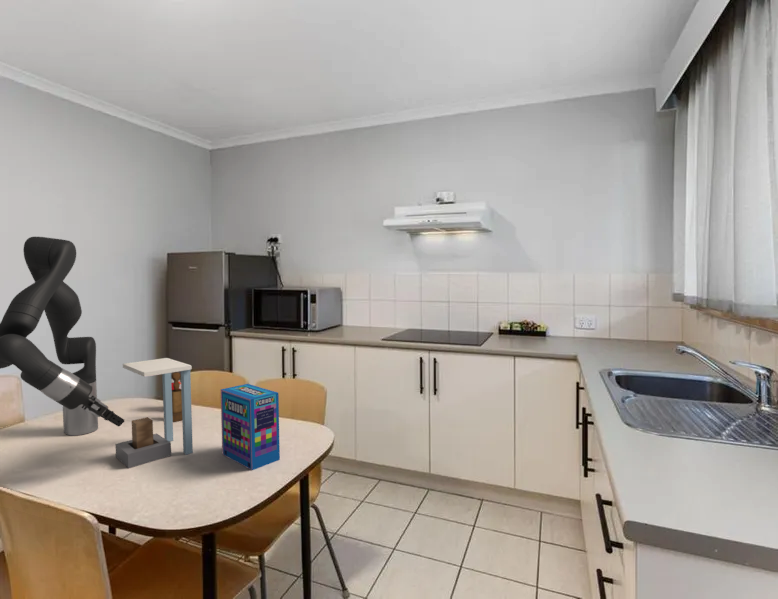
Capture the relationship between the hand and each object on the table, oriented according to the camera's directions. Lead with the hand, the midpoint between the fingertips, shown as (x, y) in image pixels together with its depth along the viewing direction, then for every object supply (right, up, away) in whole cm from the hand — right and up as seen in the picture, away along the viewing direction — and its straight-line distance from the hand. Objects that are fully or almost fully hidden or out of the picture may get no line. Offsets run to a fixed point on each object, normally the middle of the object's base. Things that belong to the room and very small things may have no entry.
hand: (117, 420), depth 123 cm
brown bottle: (-2, -11, +40) cm, 41 cm away
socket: (+4, -13, +6) cm, 14 cm away
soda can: (-10, -11, +52) cm, 54 cm away
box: (+37, -13, +5) cm, 39 cm away
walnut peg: (+4, -13, +5) cm, 14 cm away
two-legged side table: (+8, -12, +9) cm, 17 cm away
